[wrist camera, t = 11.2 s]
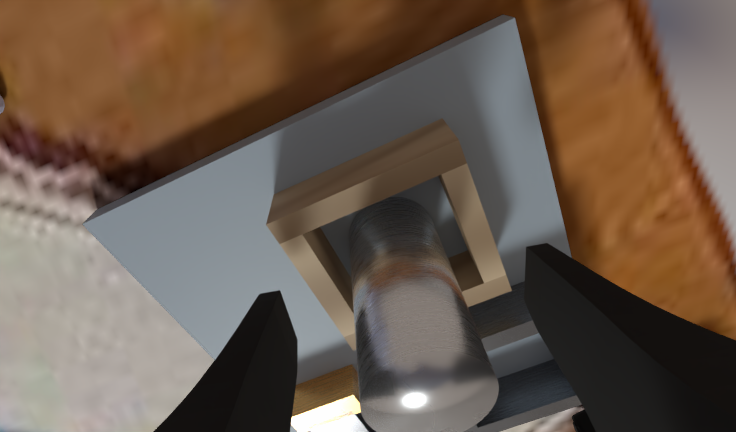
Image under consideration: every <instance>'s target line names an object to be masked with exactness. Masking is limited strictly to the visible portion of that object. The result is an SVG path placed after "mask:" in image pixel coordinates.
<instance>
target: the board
mask: <svg viewBox="0 0 736 432" xmlns="http://www.w3.org/2000/svg"><path fill="white" fill-rule="evenodd" d="M442 118H443V120H444V121H445V122H446V124H447V125H448V126H449V128H450V129H451V130H452V131H453V133H454V134H455V135H456V137H457V138H458V139H459V142H460V145H461V148H462V151H463V153H464V156H465V159H466V162H467V165H468V168H469V170H470V173H471V176H472V179H473V182H474V185H475V187H476V190H477V193H478V196H479V199H480V202H481V204H482V207H483V210H484V213H485V216H486V219H487V221H488V224H489V227H490V230H491V233H492V236H493V238H494V241H495V244H496V247H497V250H498V253H499V255H500V258H501V261H502V264H503V267H504V270H505V272H506V275H507V278H508V281H509V284H510V286H513V285H516V284H518V283H521V282H523V281H525V260H526V247H527V246H533V245H539V244H544V243H548V244H550V245H552V246H553V247H555V248H556V249H558V250H560V251H561V252H563V253H565V254H566V255H568V256H569V257H571V258H572V256H571V252H570V248H569V244H568V239H567V235H566V231H565V227H564V222H563V218H562V214H561V210H560V206H559V201H558V197H557V193H556V189H555V185H554V180H553V176H552V172H551V168H550V163H549V159H548V155H547V151H546V147H545V142H544V138H543V134H542V130H541V126H540V121H539V117H538V113H537V109H536V104H535V100H534V96H533V92H532V88H531V83H530V79H529V75H528V71H527V66H526V62H525V58H524V54H523V50H522V45H521V41H520V37H519V33H518V29H517V24H516V20H515V18H514V17H510V16H506V15H501V16H499V17H497V18H495V19H493V20H490V21H488V22H486V23H484V24H482V25H480V26H478V27H476V28H474V29H472V30H470V31H468V32H465V33H463V34H461V35H459V36H457V37H455V38H453V39H451V40H449V41H447V42H445V43H443V44H440V45H438V46H436V47H434V48H432V49H430V50H428V51H426V52H424V53H422V54H420V55H418V56H416V57H413V58H411V59H409V60H407V61H405V62H403V63H401V64H399V65H397V66H395V67H393V68H391V69H388V70H386V71H384V72H382V73H380V74H378V75H376V76H374V77H372V78H370V79H368V80H366V81H364V82H361V83H359V84H357V85H355V86H353V87H351V88H349V89H347V90H345V91H343V92H341V93H339V94H336V95H334V96H332V97H330V98H328V99H326V100H324V101H322V102H320V103H318V104H316V105H314V106H311V107H309V108H307V109H305V110H303V111H301V112H299V113H297V114H295V115H293V116H291V117H289V118H287V119H284V120H282V121H280V122H278V123H276V124H274V125H272V126H270V127H268V128H266V129H264V130H262V131H259V132H257V133H255V134H253V135H251V136H249V137H247V138H245V139H243V140H241V141H239V142H237V143H234V144H232V145H230V146H228V147H226V148H224V149H222V150H220V151H218V152H216V153H214V154H212V155H210V156H207V157H205V158H203V159H201V160H199V161H197V162H195V163H193V164H191V165H189V166H187V167H185V168H182V169H180V170H178V171H176V172H174V173H172V174H170V175H168V176H166V177H164V178H162V179H160V180H157V181H155V182H153V183H151V184H149V185H147V186H145V187H143V188H141V189H139V190H137V191H135V192H133V193H130V194H128V195H126V196H124V197H122V198H120V199H118V200H116V201H114V202H112V203H110V204H108V205H105V206H103V207H101V208H99V209H97V210H96V211H95V212H94V213H93V214H92V215H91V216H90V217H89V218H88V219H87V220H86V221H85V222H84V223H83V225H84V226H85V227H86V228H87V229H88V231H89V232H90V233H91V234H92V235H93V236H94V237H95V238H96V239H97V240H98V241H99V242H100V243H101V244H102V245H103V246H104V247H105V248H106V249H107V250H108V251H109V252H110V253H111V254H112V255H113V256H114V257H115V258H116V259H117V260H118V261H119V262H120V263H121V264H122V265H123V266H124V268H125V269H126V270H127V271H128V272H129V273H130V274H131V275H132V276H133V277H134V278H135V279H136V280H137V281H138V282H139V283H140V284H141V285H142V286H143V287H144V288H145V289H146V290H147V291H148V292H149V293H150V294H151V295H152V296H153V297H154V298H155V299H156V300H157V301H158V302H159V303H160V304H161V306H162V307H163V308H164V309H165V310H166V311H167V312H168V313H169V314H170V315H171V316H172V317H173V318H174V319H175V320H176V321H177V322H178V323H179V324H180V325H181V326H182V327H183V328H184V329H185V330H186V331H187V332H188V333H189V334H190V335H191V336H192V337H193V338H194V339H195V340H196V341H197V342H198V344H199V345H200V346H201V347H202V348H203V349H204V350H205V351H206V352H207V353H208V354H209V355H210V356H211V357H212V358H213V359H214V360H215V359H216V358H217V357H218V355H219V354H220V353H221V351H222V350H223V348H224V347H225V345H226V344H227V342H228V341H229V339H230V338H231V336H232V335H233V334H234V332H235V331H236V329H237V327H238V326H239V324H240V323H241V321H242V320H243V318H244V317H245V315H246V314H247V312H248V310H249V309H250V307H251V306H252V304H253V303H254V301H255V300H256V298H257V297H258V295H259V294H261V293H266V292H272V291H278V290H280V291H281V294H282V297H283V300H284V303H285V305H286V308H287V311H288V314H289V317H290V320H291V322H292V325H293V328H294V331H295V334H296V337H297V339H298V366H297V380H296V385H298V384H300V383H303V382H306V381H308V380H311V379H314V378H316V377H319V376H322V375H324V374H327V373H330V372H332V371H335V370H338V369H341V368H343V367H346V366H349V365H351V364H352V365H353V367H354V368H355V369H356V371H357V372H358V369H357V354H356V350H352V348H351V347H350V345H349V344H348V342H347V341H346V339H345V338H344V337H343V335H342V334H341V332H340V331H339V329H338V328H337V327H336V325H335V324H334V322H333V321H332V319H331V318H330V316H329V315H328V314H327V312H326V311H325V309H324V308H323V306H322V305H321V303H320V302H319V301H318V299H317V298H316V296H315V295H314V293H313V292H312V290H311V289H310V288H309V286H308V285H307V283H306V282H305V280H304V279H303V277H302V276H301V275H300V273H299V272H298V270H297V269H296V267H295V266H294V265H293V263H292V262H291V260H290V259H289V257H288V256H287V254H286V253H285V252H284V250H283V249H282V247H281V246H280V244H279V243H278V241H277V240H276V239H275V237H274V236H273V234H272V233H271V231H270V230H269V228H268V227H267V226H266V223H267V219H268V215H269V211H270V207H271V203H272V199H273V195H274V194H276V193H278V192H280V191H282V190H285V189H287V188H289V187H291V186H293V185H296V184H298V183H300V182H302V181H305V180H307V179H309V178H311V177H313V176H316V175H318V174H320V173H322V172H324V171H327V170H329V169H331V168H333V167H335V166H338V165H340V164H342V163H344V162H347V161H349V160H351V159H353V158H355V157H358V156H360V155H362V154H364V153H366V152H369V151H371V150H373V149H375V148H377V147H380V146H382V145H384V144H386V143H389V142H391V141H393V140H395V139H397V138H400V137H402V136H404V135H406V134H408V133H411V132H413V131H415V130H417V129H419V128H422V127H424V126H426V125H428V124H431V123H433V122H435V121H437V120H439V119H442ZM390 197H402V198H407V199H410V200H413V201H415V202H417V203H419V204H420V205H421V206H423V207H424V208H425V209H426V210H427V211H428V213H429V214H430V216H431V218H432V221H433V223H434V225H435V228H436V230H437V233H438V235H439V238H440V240H441V243H442V245H443V247H444V250H445V252H446V255H447V257H448V258H450V257H452V256H455V255H457V254H460V253H462V252H465V251H467V250H468V249H467V246H466V244H465V241H464V239H463V236H462V234H461V231H460V229H459V226H458V224H457V221H456V219H455V216H454V214H453V211H452V209H451V206H450V204H449V201H448V199H447V196H446V194H445V191H444V189H443V186H442V184H441V181H440V179H439V176H437V177H434V178H432V179H430V180H427V181H425V182H423V183H420V184H418V185H416V186H413V187H411V188H409V189H406V190H404V191H402V192H400V193H397V194H395V195H393V196H390ZM360 210H361V209H360ZM360 210H358V211H355V212H353V213H351V214H349V215H346V216H344V217H342V218H339V219H337V220H335V221H332V222H330V223H328V224H325V225H323V226H321V227H320V228H321V230H322V231H323V233H324V234H325V236H326V238H327V239H328V241H329V243H330V244H331V246H332V247H333V249H334V251H335V252H336V254H337V256H338V257H339V259H340V261H341V262H342V264H343V265H344V267H345V269H346V270H347V272H348V274H349V275H350V277H351V263H350V248H349V229H350V225H351V223H352V221H353V219H354V217H355V216H356V215H357V213H358V212H359V211H360ZM486 353H487V355H488V358H489V360H490V363H491V365H492V367H493V370H494V372H495V375H496V377H497V378H500V377H503V376H506V375H509V374H512V373H515V372H518V371H520V370H523V369H526V368H529V367H532V366H535V365H538V364H541V363H543V362H546V361H549V360H552V359H554V357H553V356H552V354H551V353H550V351H549V349H548V348H547V346H546V344H545V343H544V341H543V339H542V338H541V336H540V334H539V333H538V334H535V335H533V336H530V337H527V338H524V339H522V340H519V341H516V342H513V343H510V344H508V345H505V346H502V347H499V348H496V349H494V350H491V351H488V352H486ZM290 432H298V431H297V430H296V429H295V428H294V427H293V426H292V424H291V427H290ZM306 432H311V431H310V430H309V431H306Z"/></svg>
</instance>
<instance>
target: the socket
mask: <svg viewBox="0 0 736 432" xmlns="http://www.w3.org/2000/svg"><path fill="white" fill-rule="evenodd" d="M524 285H525V281H523V282H521V283H518V284H516V285H513V286H510V287H511V289H512V291H510V292H507V293H504V294H502V295H499V296H496V297H494V298H491V299H489V300H486V301H483V302H481V303H478V304H475V305H473V306H470V307H468V309H469V311H470V314H471V316H472V318H473V321H474V323H475V326H476V328H477V331H478V333H479V336H480V338H481V340H482V343H483V345H484V348H485V350H486V352H488V351H491V350H494V349H496V348H499V347H502V346H505V345H508V344H510V343H513V342H516V341H519V340H522V339H524V338H527V337H530V336H533V335H535V334H538V333H539V332H538V331H537V329H536V326H535V324H534V322H533V320H532V318H531V315H530V313H529V311H528V308H527V306H526V304H525V301H524ZM497 380H498V384H499V393H498V397H497V400H496V403H495V404H494V406H493V408H492V409H491V411H490V412H489V413H488V414H487V415H486V416H485V417H484V418H483V419H482V420H481V421H480V422H478V423H477V424H476V425H474V426H473V427H471V428H469V429H468V430H466V431H464V432H500V431H503V430H506V429H509V428H512V427H515V426H518V425H521V424H524V423H527V422H530V421H533V420H536V419H539V418H542V417H545V416H549V415H552V414H555V413H558V412H561V411H564V410H567V409H570V408H573V407H576V406H579V405H582V404H581V402H580V400H579V398H578V397H577V395H576V393H575V392H574V390H573V389H572V387H571V385H570V384H569V382H568V380H567V379H566V377H565V375H564V374H563V372H562V371H561V369H560V367H559V366H558V364H557V362H556V361H555V359H552V360H549V361H546V362H543V363H541V364H538V365H535V366H532V367H529V368H526V369H523V370H520V371H518V372H515V373H512V374H509V375H506V376H503V377H500V378H497Z"/></svg>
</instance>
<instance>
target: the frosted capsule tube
mask: <svg viewBox="0 0 736 432" xmlns="http://www.w3.org/2000/svg"><path fill="white" fill-rule="evenodd" d="M349 248H350V263H351V278H352V293H353V309H354V324H355V339H356V354H357V369H358V384H359V399H360V410H361V414H362V416H363V418H364V420H365V421H366V423H367V424H368V425H369V426H370V427H371V428H372V429H373V430H375V431H376V432H464V431H466V430H468V429H469V428H471V427H473V426H474V425H476V424H477V423H478V422H480V421H481V420H482V419H483V418H484V417H485V416H486V415H487V414H488V413H489V412H490V411H491V409H492V408H493V406H494V404H495V403H496V400H497V397H498V393H499V384H498V380H497V377H496V375H495V372H494V370H493V367H492V365H491V363H490V360H489V358H488V355H487V353H486V350H485V348H484V345H483V343H482V340H481V338H480V336H479V333H478V331H477V328H476V326H475V323H474V321H473V318H472V316H471V314H470V311H469V309H468V306H467V304H466V301H465V299H464V296H463V294H462V292H461V289H460V287H459V284H458V282H457V279H456V277H455V274H454V272H453V270H452V267H451V265H450V262H449V260H448V257H447V255H446V252H445V250H444V247H443V245H442V243H441V240H440V238H439V235H438V233H437V230H436V228H435V225H434V223H433V221H432V218H431V216H430V214H429V213H428V211H427V210H426V209H425V208H424V207H423V206H421V205H420V204H419V203H417V202H415V201H413V200H410V199H407V198H402V197H388V198H386V199H383V200H381V201H379V202H376V203H374V204H372V205H369V206H367V207H365V208H362V209H361V210H360V211H359V212H358V213H357V215H356V216H355V217H354V219H353V221H352V223H351V225H350V229H349Z"/></svg>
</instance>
